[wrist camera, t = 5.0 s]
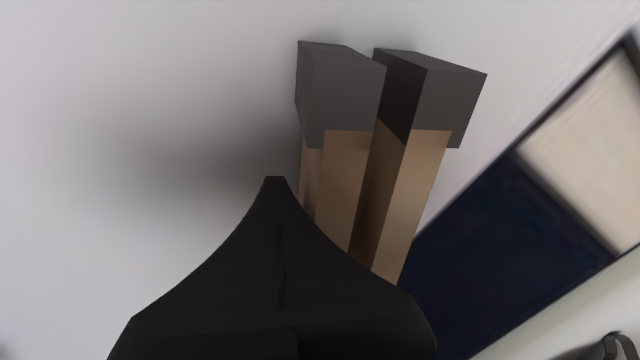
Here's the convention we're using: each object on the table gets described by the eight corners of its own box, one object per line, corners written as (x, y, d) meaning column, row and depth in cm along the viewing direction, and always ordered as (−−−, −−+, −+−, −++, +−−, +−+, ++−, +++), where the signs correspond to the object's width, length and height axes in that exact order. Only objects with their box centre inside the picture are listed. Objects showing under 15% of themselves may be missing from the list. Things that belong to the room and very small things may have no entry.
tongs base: (345, 327, 19) (366, 413, 15) (286, 333, 18) (291, 425, 14) (416, 51, 10) (511, 81, 6) (307, 41, 10) (335, 67, 5)
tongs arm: (333, 328, 18) (355, 442, 14) (280, 333, 18) (285, 454, 13) (395, 50, 10) (514, 92, 5) (298, 40, 9) (329, 77, 4)
